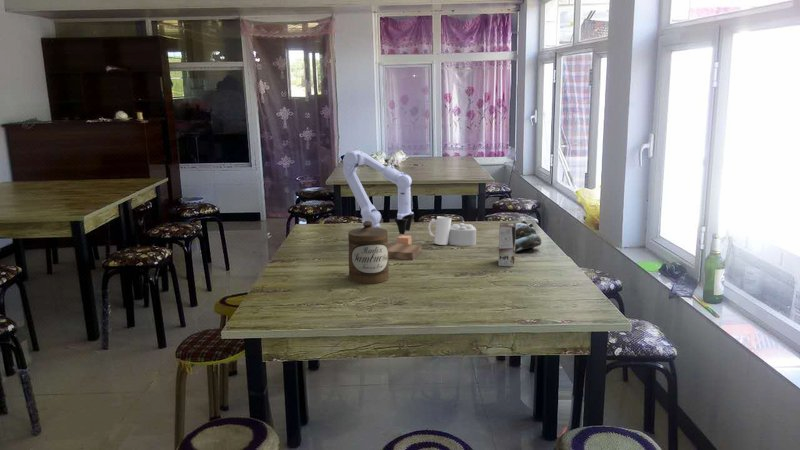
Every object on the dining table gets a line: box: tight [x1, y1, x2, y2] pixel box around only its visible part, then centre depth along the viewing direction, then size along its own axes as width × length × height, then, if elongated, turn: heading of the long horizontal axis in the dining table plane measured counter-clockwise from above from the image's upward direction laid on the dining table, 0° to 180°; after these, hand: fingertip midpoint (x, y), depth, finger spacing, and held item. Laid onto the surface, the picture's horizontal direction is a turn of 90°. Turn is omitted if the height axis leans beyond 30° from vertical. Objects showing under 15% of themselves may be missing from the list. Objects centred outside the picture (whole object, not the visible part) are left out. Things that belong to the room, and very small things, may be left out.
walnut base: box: [388, 242, 423, 261], centre depth 275 cm, size 14×14×3 cm
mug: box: [427, 215, 453, 246], centre depth 292 cm, size 10×7×12 cm, turn 82°
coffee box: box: [498, 222, 517, 267], centre depth 259 cm, size 9×6×16 cm
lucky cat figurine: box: [515, 220, 542, 254], centre depth 282 cm, size 15×12×14 cm
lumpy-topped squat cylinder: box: [447, 222, 477, 247], centre depth 294 cm, size 10×13×9 cm
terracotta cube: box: [396, 234, 413, 245], centre depth 287 cm, size 5×5×5 cm
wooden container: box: [347, 221, 390, 285], centre depth 239 cm, size 15×15×22 cm
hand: (404, 232), depth 286 cm, fingers open, 7 cm apart
